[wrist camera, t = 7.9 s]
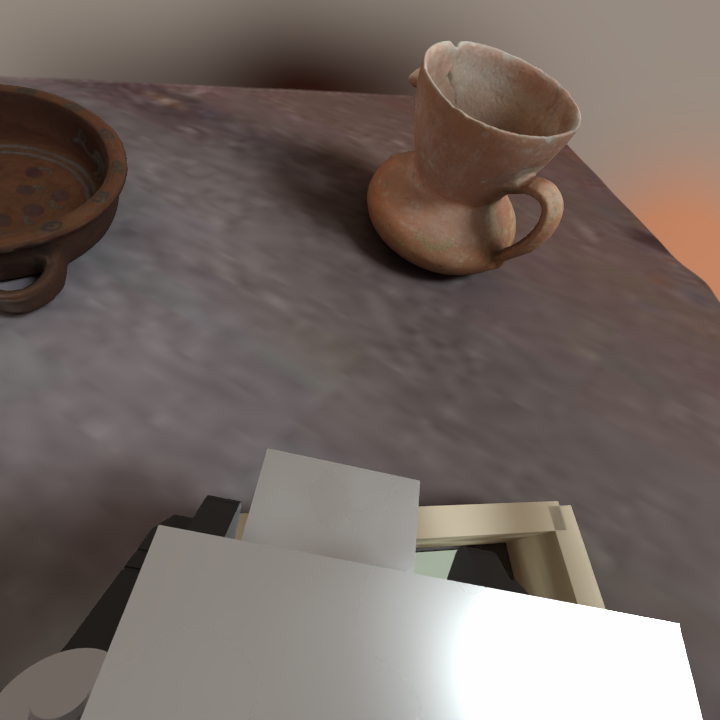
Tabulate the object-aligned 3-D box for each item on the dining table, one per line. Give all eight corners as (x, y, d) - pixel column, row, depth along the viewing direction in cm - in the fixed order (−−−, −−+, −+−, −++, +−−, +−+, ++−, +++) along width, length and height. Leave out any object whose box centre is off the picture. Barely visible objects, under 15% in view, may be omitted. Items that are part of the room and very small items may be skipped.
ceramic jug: (325, 194, 39) (357, 21, 27) (432, 170, 46) (496, 21, 34) (433, 332, 34) (532, 190, 22) (537, 282, 40) (658, 151, 28)
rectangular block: (387, 712, 11) (787, 1066, 3) (204, 683, 10) (-33, 1004, 2) (405, 492, 14) (607, 332, 6) (267, 463, 14) (270, 245, 5)
